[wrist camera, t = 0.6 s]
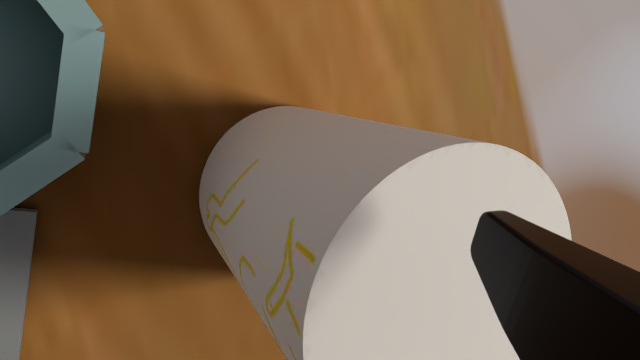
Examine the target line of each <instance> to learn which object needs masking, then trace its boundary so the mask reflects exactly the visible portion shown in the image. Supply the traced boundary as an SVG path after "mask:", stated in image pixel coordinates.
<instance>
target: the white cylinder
mask: <svg viewBox="0 0 640 360" xmlns="http://www.w3.org/2000/svg"><path fill="white" fill-rule="evenodd" d="M199 205H200V212H201V217H202V220H203V224H204V226H205V229H206V231H207V233H208V235H209V237H210V239H211V240H212V242H213V243H214V245H215V247H216V248H217V250H218V251H219V253H220V254H221V256H222V258H223V259H224V261H225V262H226V264H227V265H228V267H229V269H230V270H231V272H232V273H233V275H234V276H235V278H236V280H237V281H238V283H239V284H240V286H241V287H242V289H243V291H244V292H245V294H246V295H247V297H248V298H249V300H250V302H251V303H252V305H253V306H254V308H255V310H256V311H257V313H258V314H259V316H260V317H261V319H262V321H263V322H264V324H265V325H266V327H267V328H268V330H269V332H270V333H271V335H272V336H273V338H274V339H275V341H276V343H277V344H278V346H279V347H280V349H281V350H282V352H283V354H284V355H285V357H286V358H287V360H520V359H519V357H518V355H517V354H516V352H515V350H514V348H513V347H512V345H511V343H510V341H509V339H508V338H507V336H506V334H505V332H504V330H503V328H502V326H501V324H500V322H499V320H498V317H497V315H496V313H495V311H494V308H493V306H492V304H491V302H490V299H489V297H488V295H487V292H486V290H485V288H484V285H483V283H482V281H481V279H480V276H479V274H478V272H477V269H476V267H475V265H474V263H473V260H472V257H471V252H470V249H471V243H472V240H473V237H474V233H475V230H476V227H477V224H478V221H479V218H480V216H481V215H482V214H483V213H484V212H486V211H497V210H504V211H508V212H510V213H512V214H514V215H516V216H518V217H521V218H523V219H525V220H527V221H529V222H532V223H534V224H536V225H538V226H540V227H542V228H545V229H547V230H549V231H551V232H553V233H556V234H558V235H560V236H562V237H564V238H566V239H569V240H571V232H570V226H569V221H568V217H567V213H566V210H565V207H564V204H563V202H562V199H561V197H560V195H559V193H558V191H557V189H556V187H555V186H554V184H553V183H552V181H551V180H550V178H549V177H548V176H547V175H546V173H545V172H544V171H543V170H542V169H541V168H540V167H539V166H538V165H537V164H535V163H534V162H533V161H532V160H530V159H529V158H528V157H526V156H525V155H523V154H521V153H519V152H517V151H515V150H512V149H510V148H508V147H504V146H501V145H496V144H491V143H486V142H481V141H476V140H470V139H465V138H460V137H455V136H449V135H444V134H439V133H434V132H428V131H423V130H418V129H413V128H408V127H402V126H397V125H392V124H387V123H381V122H376V121H371V120H366V119H361V118H355V117H350V116H345V115H340V114H334V113H329V112H324V111H319V110H314V109H308V108H303V107H297V106H278V107H272V108H267V109H264V110H261V111H258V112H256V113H253V114H251V115H249V116H247V117H245V118H244V119H242V120H241V121H239V122H238V123H236V124H235V125H234V126H233V127H232V128H230V129H229V130H228V131H227V132H226V133H225V134H224V135H223V136H222V138H221V139H220V140H219V141H218V143H217V144H216V145H215V147H214V148H213V150H212V152H211V153H210V155H209V157H208V159H207V162H206V164H205V167H204V170H203V173H202V177H201V182H200V189H199Z"/></svg>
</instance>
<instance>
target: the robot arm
mask: <svg viewBox="0 0 640 360" xmlns="http://www.w3.org/2000/svg"><path fill="white" fill-rule="evenodd" d="M470 252H471V257H472V260H473V263H474V265H475V267H476V269H477V272H478V274H479V276H480V279H481V281H482V283H483V285H484V288H485V290H486V292H487V295H488V297H489V299H490V302H491V304H492V306H493V308H494V311H495V313H496V315H497V317H498V320H499V322H500V324H501V326H502V328H503V330H504V332H505V334H506V336H507V338H508V339H509V341H510V343H511V345H512V347H513V348H514V350H515V352H516V354H517V355H518V357H519V359H520V360H640V272H638V271H636V270H634V269H632V268H630V267H627V266H625V265H623V264H621V263H618V262H616V261H614V260H612V259H610V258H608V257H606V256H603V255H601V254H599V253H597V252H595V251H593V250H590V249H588V248H586V247H584V246H582V245H579V244H577V243H575V242H573V241H571V240H569V239H566V238H564V237H562V236H560V235H558V234H556V233H553V232H551V231H549V230H547V229H545V228H542V227H540V226H538V225H536V224H534V223H532V222H529V221H527V220H525V219H523V218H521V217H518V216H516V215H514V214H512V213H510V212H508V211H504V210H497V211H486V212H484V213H483V214H482V215H481V216H480V218H479V221H478V224H477V227H476V230H475V233H474V237H473V240H472V243H471V249H470Z"/></svg>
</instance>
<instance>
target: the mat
mask: <svg viewBox="0 0 640 360" xmlns="http://www.w3.org/2000/svg"><path fill="white" fill-rule="evenodd" d="M37 212H38V210H37V209H24V208H12V209H10V210H9V211H7V212H6V213H4V214H3V215H1V216H0V360H19V358H20V350H21V342H22V334H23V325H24V317H25V309H26V301H27V293H28V285H29V277H30V269H31V261H32V252H33V244H34V236H35V228H36V220H37Z"/></svg>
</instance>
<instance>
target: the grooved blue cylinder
mask: <svg viewBox="0 0 640 360" xmlns="http://www.w3.org/2000/svg"><path fill="white" fill-rule="evenodd" d="M104 42H105V33H104V32H103V24H102V23H101V22H100V20H99V19H98V18H97V16H96V15H95V14H94V12H93V11H92V9H91V8H90V7H89V5H88V4H87V3H86V1H85V0H0V216H1V215H3V214H4V213H6V212H7V211H9V210H10V209H12V208H13V207H15V206H16V205H18V204H19V203H21V202H22V201H24V200H25V199H27V198H28V197H30V196H31V195H33V194H34V193H36V192H37V191H39V190H40V189H42V188H43V187H45V186H46V185H47V184H49V183H50V182H52V181H53V180H55V179H56V178H58V177H59V176H61V175H62V174H64V173H65V172H67V171H68V170H70V169H71V168H73V167H74V166H76V165H77V164H79V163H80V162H82V161H83V160H85V156H86V153H89V149H90V143H91V137H92V130H93V123H94V115H95V108H96V101H97V93H98V86H99V79H100V72H101V64H102V57H103V50H104Z"/></svg>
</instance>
